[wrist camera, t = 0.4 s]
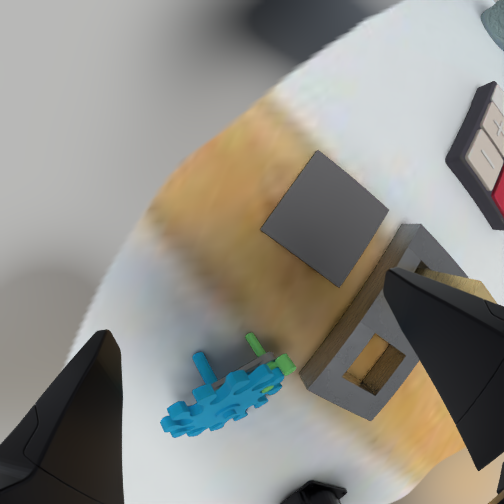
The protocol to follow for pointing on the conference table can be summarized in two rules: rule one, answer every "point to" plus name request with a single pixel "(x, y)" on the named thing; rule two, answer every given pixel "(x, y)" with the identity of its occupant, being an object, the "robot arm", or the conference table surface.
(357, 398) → the grey cinder block
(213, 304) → the conference table surface
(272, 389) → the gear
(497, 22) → the green tumbler cup
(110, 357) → the robot arm
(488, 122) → the calculator
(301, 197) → the rubber pad
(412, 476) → the conference table surface
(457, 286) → the brass peg
